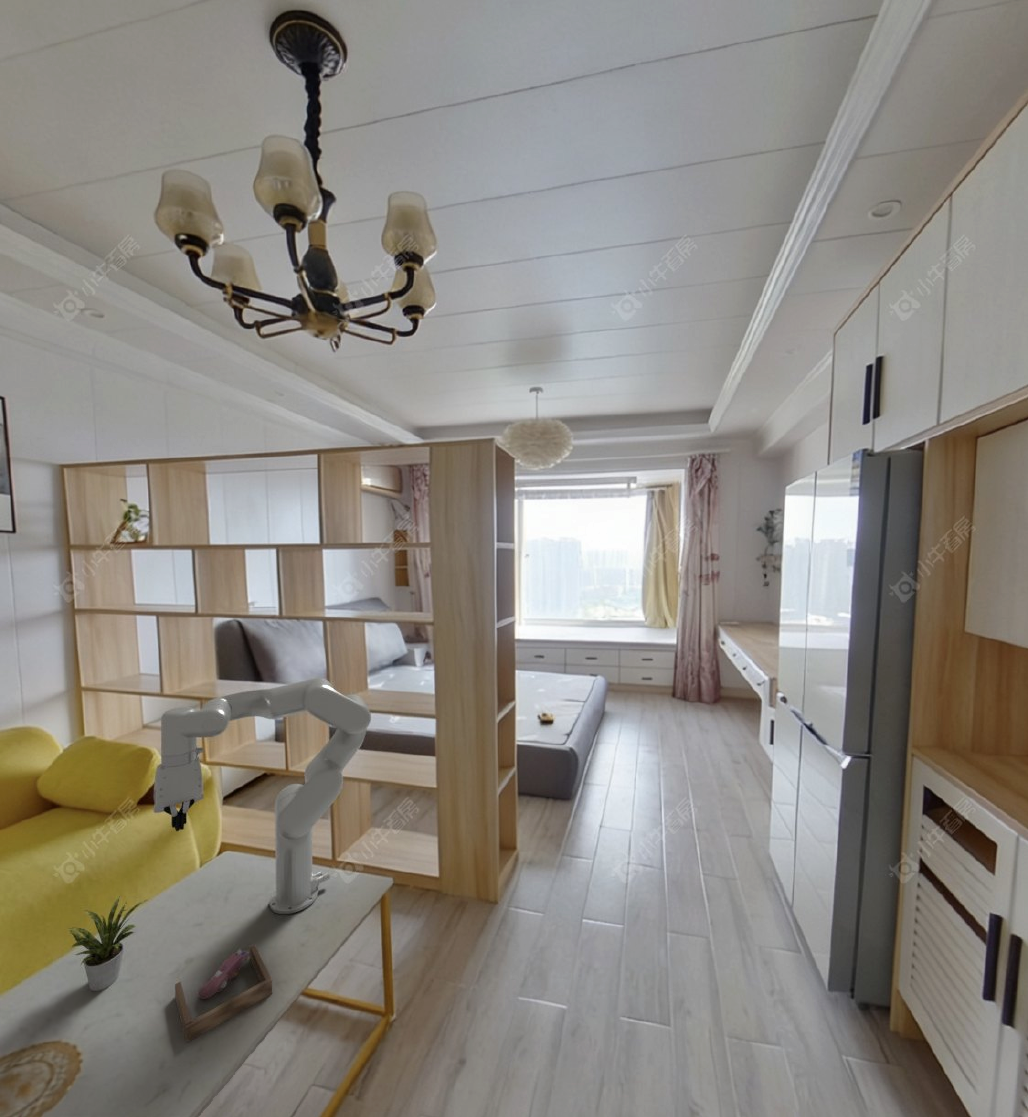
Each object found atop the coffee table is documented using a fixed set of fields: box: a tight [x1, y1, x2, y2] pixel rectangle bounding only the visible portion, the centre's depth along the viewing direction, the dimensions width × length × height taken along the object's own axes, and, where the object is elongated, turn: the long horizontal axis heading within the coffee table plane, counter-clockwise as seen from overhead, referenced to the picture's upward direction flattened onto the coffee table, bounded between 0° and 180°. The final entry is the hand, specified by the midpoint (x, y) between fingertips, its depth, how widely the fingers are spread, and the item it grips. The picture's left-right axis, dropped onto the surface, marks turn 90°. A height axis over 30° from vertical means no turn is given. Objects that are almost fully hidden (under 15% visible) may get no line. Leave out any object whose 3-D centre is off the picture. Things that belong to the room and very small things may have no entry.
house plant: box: [68, 894, 148, 992], centre depth 113 cm, size 14×14×16 cm
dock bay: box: [174, 944, 273, 1043], centre depth 108 cm, size 16×14×3 cm
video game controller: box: [198, 948, 250, 1000], centre depth 111 cm, size 10×5×7 cm, turn 167°
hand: (179, 828), depth 125 cm, fingers closed
